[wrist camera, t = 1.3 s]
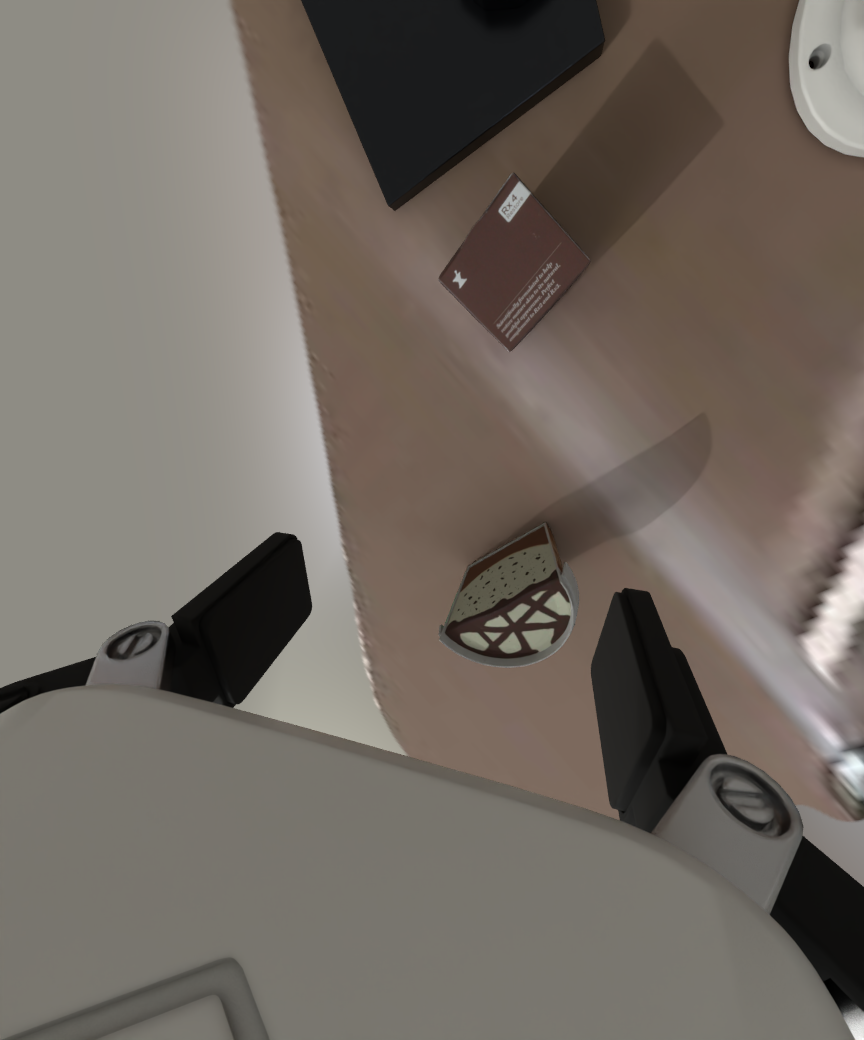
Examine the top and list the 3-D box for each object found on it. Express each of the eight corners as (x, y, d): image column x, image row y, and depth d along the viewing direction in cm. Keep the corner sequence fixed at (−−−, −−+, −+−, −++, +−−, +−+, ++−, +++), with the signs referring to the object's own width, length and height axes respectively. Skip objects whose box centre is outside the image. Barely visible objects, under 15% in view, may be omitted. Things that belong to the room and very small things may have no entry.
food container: (491, 612, 41) (479, 690, 32) (456, 572, 39) (434, 642, 31) (597, 562, 35) (617, 639, 26) (559, 513, 34) (568, 578, 25)
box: (514, 348, 29) (508, 356, 22) (457, 289, 28) (434, 279, 21) (580, 276, 26) (594, 261, 19) (519, 207, 25) (513, 167, 18)
